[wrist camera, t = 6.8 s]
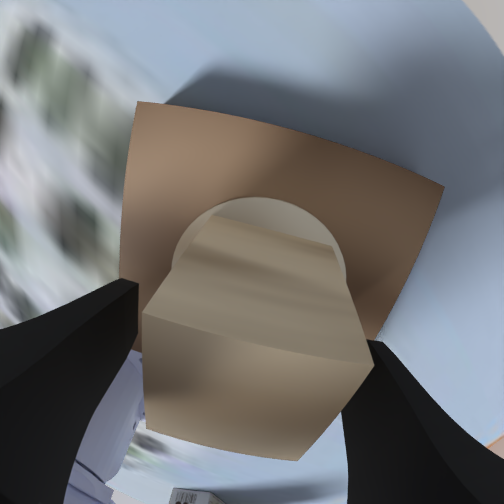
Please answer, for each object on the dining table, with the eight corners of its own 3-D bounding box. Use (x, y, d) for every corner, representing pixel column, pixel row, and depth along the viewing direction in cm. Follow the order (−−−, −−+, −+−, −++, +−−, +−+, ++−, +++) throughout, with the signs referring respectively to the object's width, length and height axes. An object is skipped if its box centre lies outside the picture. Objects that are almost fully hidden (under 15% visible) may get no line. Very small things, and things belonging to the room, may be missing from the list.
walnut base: (331, 367, 16) (336, 400, 14) (138, 319, 16) (120, 348, 14) (418, 175, 11) (447, 187, 9) (162, 104, 11) (135, 100, 9)
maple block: (295, 338, 12) (297, 460, 7) (194, 313, 12) (146, 428, 7) (331, 246, 10) (374, 365, 5) (211, 214, 10) (141, 312, 5)
